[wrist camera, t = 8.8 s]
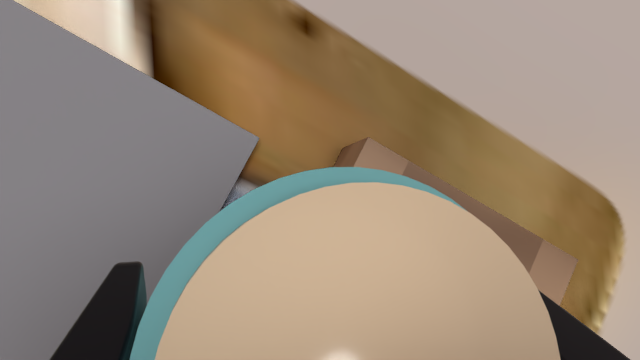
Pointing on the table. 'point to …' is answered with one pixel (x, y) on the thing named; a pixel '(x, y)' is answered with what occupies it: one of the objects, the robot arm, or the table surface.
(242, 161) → the gray rectangular panel
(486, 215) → the walnut frame
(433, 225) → the teal jar
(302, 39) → the table surface
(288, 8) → the table surface
